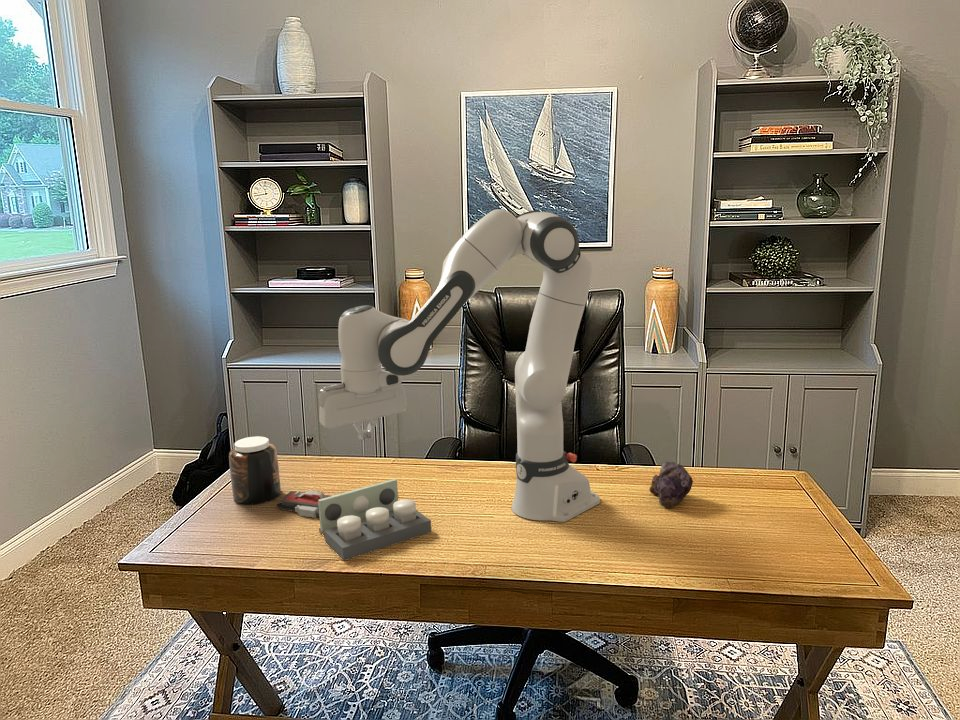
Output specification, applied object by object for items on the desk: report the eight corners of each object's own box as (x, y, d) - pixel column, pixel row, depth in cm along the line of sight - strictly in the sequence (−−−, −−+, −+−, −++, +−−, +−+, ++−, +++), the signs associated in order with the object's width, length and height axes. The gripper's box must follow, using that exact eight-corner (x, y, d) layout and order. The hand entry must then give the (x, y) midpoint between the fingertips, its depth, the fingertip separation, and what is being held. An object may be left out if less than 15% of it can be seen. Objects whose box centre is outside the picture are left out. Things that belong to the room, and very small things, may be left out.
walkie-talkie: (271, 514, 188) (343, 523, 182) (269, 497, 187) (342, 506, 180) (290, 499, 196) (360, 508, 190) (289, 483, 195) (359, 492, 189)
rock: (653, 513, 184) (695, 512, 184) (654, 483, 181) (697, 482, 180) (647, 486, 195) (687, 486, 194) (648, 458, 192) (688, 457, 191)
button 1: (355, 531, 173) (354, 513, 171) (365, 540, 168) (364, 521, 167) (334, 538, 170) (333, 519, 169) (344, 546, 166) (342, 528, 164)
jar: (255, 508, 190) (249, 452, 186) (224, 499, 196) (217, 445, 192) (289, 491, 200) (284, 438, 196) (258, 483, 206) (253, 431, 202)
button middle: (383, 523, 176) (382, 505, 175) (393, 531, 172) (392, 513, 171) (363, 529, 174) (361, 511, 172) (373, 537, 169) (372, 519, 168)
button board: (410, 516, 183) (409, 505, 183) (431, 532, 175) (430, 520, 174) (325, 543, 171) (324, 530, 171) (343, 560, 163) (342, 548, 163)
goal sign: (395, 509, 188) (393, 477, 185) (400, 513, 185) (398, 481, 183) (319, 531, 177) (316, 498, 175) (324, 536, 174) (321, 502, 172)
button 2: (409, 514, 180) (408, 497, 179) (420, 522, 176) (419, 505, 175) (390, 520, 177) (389, 503, 176) (400, 529, 173) (399, 511, 172)
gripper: (323, 391, 159) (328, 452, 162) (408, 374, 170) (411, 432, 173) (311, 384, 164) (317, 444, 167) (395, 368, 175) (398, 425, 178)
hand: (365, 438), depth 170 cm, fingers closed
